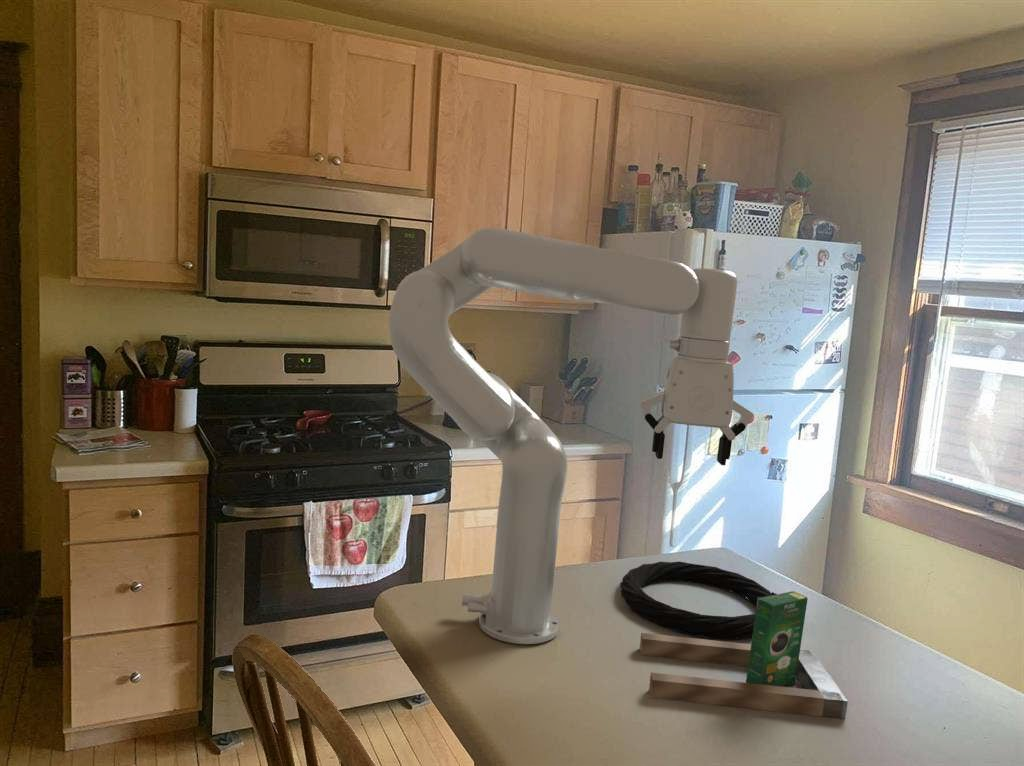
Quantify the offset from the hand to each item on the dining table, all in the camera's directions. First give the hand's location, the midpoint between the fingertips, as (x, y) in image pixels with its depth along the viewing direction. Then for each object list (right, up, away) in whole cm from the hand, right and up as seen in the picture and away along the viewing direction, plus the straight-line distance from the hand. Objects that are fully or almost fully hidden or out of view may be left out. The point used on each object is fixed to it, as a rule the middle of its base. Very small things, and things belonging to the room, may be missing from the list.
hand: (689, 460), depth 118 cm
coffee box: (+9, -31, -11) cm, 34 cm away
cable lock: (+6, -28, +15) cm, 32 cm away
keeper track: (+4, -30, -10) cm, 32 cm away
